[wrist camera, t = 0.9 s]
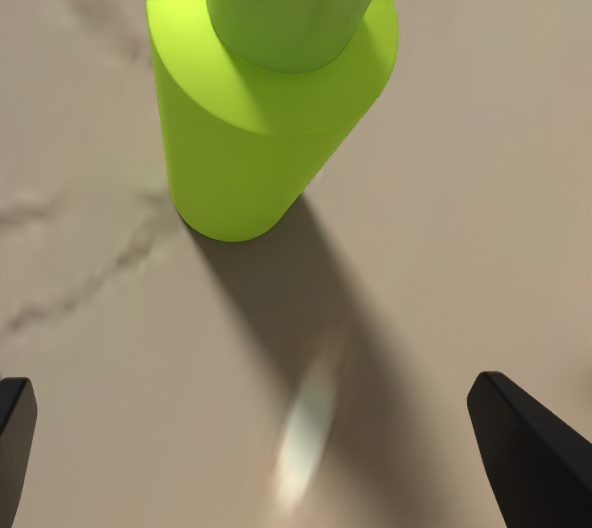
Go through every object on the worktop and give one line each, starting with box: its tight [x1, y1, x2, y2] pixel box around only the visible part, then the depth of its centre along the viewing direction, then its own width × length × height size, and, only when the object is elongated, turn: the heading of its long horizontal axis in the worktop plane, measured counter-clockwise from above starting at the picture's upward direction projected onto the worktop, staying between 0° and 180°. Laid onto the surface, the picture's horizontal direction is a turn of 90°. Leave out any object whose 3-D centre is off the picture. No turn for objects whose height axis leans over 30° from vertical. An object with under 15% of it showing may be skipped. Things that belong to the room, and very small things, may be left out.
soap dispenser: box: [146, 0, 398, 242], centre depth 14 cm, size 6×7×20 cm
